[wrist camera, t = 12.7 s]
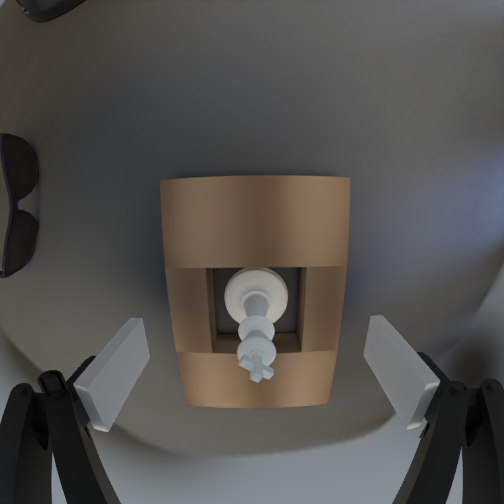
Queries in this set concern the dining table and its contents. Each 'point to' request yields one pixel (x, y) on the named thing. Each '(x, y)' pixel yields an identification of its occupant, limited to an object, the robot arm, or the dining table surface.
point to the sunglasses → (18, 186)
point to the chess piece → (256, 316)
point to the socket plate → (256, 256)
